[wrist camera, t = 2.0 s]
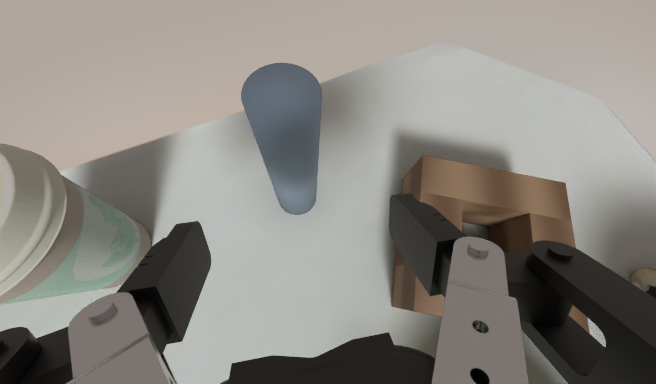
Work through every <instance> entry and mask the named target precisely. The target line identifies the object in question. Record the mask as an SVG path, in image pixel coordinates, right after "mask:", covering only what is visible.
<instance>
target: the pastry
mask: <svg viewBox="0 0 656 384" xmlns="http://www.w3.org/2000/svg"><path fill="white" fill-rule="evenodd" d="M631 281H632V282H631V283H632V284H633V285H635V286H636V287H638V288H640V289H641V290H643V291H644V292H646V293H648V294H649V295H651V296H652V297H654V298H655V299H656V270H653V269H647V268H642V269H639V270H637V271H636V272H635V274H634V275H632V276H631Z"/></svg>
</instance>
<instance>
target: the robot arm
mask: <svg viewBox="0 0 656 384" xmlns="http://www.w3.org/2000/svg"><path fill="white" fill-rule="evenodd" d="M389 230H390V235H391V237H392V240H393V241H394V243H395V244H396V246H397V247H398V249H399V250H400V252H401V253H402V255H403V256H404V258H405V259H406V261H407V262H408V264H409V265H410V267H411V268H412V270H413V272H414V273H415V275H416V276H417V278H418V279H419V281H420V282H421V284H422V285H423V287H424V288H425V290H426V291H427V293H428V294H429V296H435V295H440V294H442V295H443V296H444V298H445V301H444V307H443V313H442V319H441V326H440V332H439V338H438V344H437V350H436V356H435V358H433V357H432V356H430V355H428V354H426V353H423V352H421V351H419V350H415V349H412V348H409V347H404V346H397V345H394V344H393V342H392V339H391V337H390V334H389V333H384V334H379V335H374V336H369V337H364V338H359V339H354V340H351V341H349V342H347V343H344V344H342V345H340V346H338V347H336V348H334V349H332V350H330V351H328V352H326V353H324V354H322V355H320V356H317V357H314V358H303V357H287V356H268V357H263V358H258V359H252V360H247V361H242V362H237V363H232V366H231V371H230V377H229V379H228V380H226V381H224V382H222V383H221V384H529V382H528V374H527V367H526V360H525V353H524V346H523V339H522V331H521V329H522V330H523V331H524V333H525V334H526V335H527V336H528V337H529V338H530V339H531V341H532V342H533V343H534V344H535V345H536V346H537V348H538V349H539V350H540V351H541V352H542V353H543V355H544V356H545V357H546V358H547V359H548V360H549V361H550V363H551V364H552V365H553V366H554V367H555V368H556V370H557V371H558V372H559V373H560V374H561V375H562V377H563V378H564V379H565V380H566V381H567V382H568V384H656V299H655V298H654V297H652V296H651V295H649V294H648V293H646V292H644V291H643V290H641V289H640V288H638V287H636V286H635V285H633V284H632V283H630V282H629V281H627V280H625V279H624V278H622V277H621V276H619V275H618V274H616V273H614V272H613V271H611V270H610V269H608V268H607V267H605V266H603V265H602V264H600V263H599V262H597V261H596V260H594V259H592V258H591V257H589V256H588V255H586V254H584V253H583V252H581V251H580V250H578V249H576V248H574V247H572V246H569V245H566V244H563V243H560V242H555V241H548V240H541V241H536V242H533V243H532V244H531V246H530V249H529V252H528V254H520V253H504V252H503V251H502V249H501V248H500V247H499V246H497V245H496V244H494V243H492V242H491V241H488V240H486V239H482V238H478V237H467V236H466V235H465V234H464V233H463V232H462V231H460V230H459V229H458V228H457V227H456V226H455V225H454V224H452V223H451V222H450V221H449V220H447V218H446V217H445V216H443V215H441V213H440V212H439V211H438V210H437V209H435V208H434V207H433V206H431V205H428V204H426V203H424V202H419V201H418V200H417V199H416V198H415V197H414V196H413V195H412V194H410V193H403V194H396V195H392V196H391V198H390V217H389ZM210 266H211V255H210V251H209V248H208V245H207V242H206V239H205V236H204V233H203V230H202V227H201V224H200V223H199V222H198V221H195V222H188V223H180V224H176V225H175V227H174V228H173V229H172V231H171V232H170V234H169V235H168V236H167V238H163V239H162V240H160V241H159V242H158V243H156V244H155V245H154V246H152V247H151V248H150V250H149V251H148V252H147V254H146V255H145V256H144V258H143V259H142V260H141V261H140V263H139V264H138V267H136V268H135V269H134V271H133V272H132V273H131V274H130V276H129V277H128V278H127V280H126V281H125V282H124V284H123V285H122V286H121V287H120V289H119V290H118V291H117V293H114V294H110V295H107V296H105V297H102V298H100V299H98V300H96V301H94V302H92V303H91V304H89V305H88V306H86V307H85V308H84V309H82V310H81V311H80V312H79V313H78V314H77V315H76V316H75V317H74V318H73V319H72V321H71V322H70V324H69V327H66V328H64V329H61V330H58V331H55V332H53V333H50V334H47V335H45V336H42V337H39V338H37V339H36V338H35V337H34V336H33V334H32V333H31V332H30V331H29V330H28V329H27V328H24V327H17V328H11V329H7V330H4V331H1V332H0V384H177V381H176V379H175V377H174V375H173V373H172V371H171V369H170V366H169V364H168V362H167V360H166V358H165V356H164V354H163V351H164V349H165V347H166V344H170V343H175V342H181V341H182V340H183V337H184V335H185V332H186V330H187V327H188V324H189V322H190V319H191V317H192V314H193V311H194V309H195V306H196V304H197V301H198V298H199V296H200V293H201V290H202V288H203V285H204V283H205V280H206V277H207V275H208V272H209V270H210ZM573 305H574V306H575V307H576V308H577V309H578V310H580V311H581V312H582V313H583V314H584V315H585V316H587V317H588V318H589V319H590V320H591V321H592V322H594V323H595V324H596V325H597V326H598V327H599V328H600V330H601V331H602V333H603V334H604V336H605V339H606V347H604V346H602V345H601V344H600V343H599V342H598V341H597V340H596V339H595V338H594V337H592V336H591V335H590V334H589V333H588V332H587V331H586V330H585V329H584V328H583V327H581V326H580V325H579V324H578V323H577V322H576V321H575V320H574V319H573V318H571V317H570V316H569V313H570V311H571V309H572V307H573Z"/></svg>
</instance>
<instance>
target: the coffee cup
mask: <svg viewBox="0 0 656 384" xmlns="http://www.w3.org/2000/svg"><path fill="white" fill-rule="evenodd" d="M150 248H151V239H150V235H149V233H148V231H147V229H146V228H145V227H144V226H143V225H142V224H141V223H139V222H137V221H136V220H134V219H133V218H131V217H129V216H128V215H126V214H125V213H123V212H121V211H120V210H118V209H116V208H115V207H113V206H111V205H110V204H108V203H106V202H105V201H103V200H102V199H100V198H98V197H97V196H95V195H93V194H92V193H90V192H88V191H87V190H85V189H84V188H82V187H80V186H79V185H77V184H75V183H74V182H72V181H70V180H69V179H67V178H65V177H64V176H62V175H60V173H59V171H58V170H57V169H56V168H55V166H54V165H53V164H52V163H50V162H49V161H48V160H47V159H45V158H44V157H42V156H40V155H38V154H36V153H34V152H31V151H27V150H24V149H20V148H18V147H15V146H11V145H6V144H0V305H1V304H8V303H14V302H21V301H27V300H34V299H40V298H47V297H53V296H60V295H66V294H73V293H79V292H86V291H92V290H98V289H104V288H111V287H115V286H118V285H121V284H123V283H124V282H125V281H126V280H127V278H128V277H129V276H130V274H131V273H132V272H133V271H134V269H135V268H136V267H138V264H139V263H140V261H141V260H142V259H143V258H144V256H145V255H146V254H147V252H148V251H149V250H150Z"/></svg>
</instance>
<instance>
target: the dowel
mask: <svg viewBox="0 0 656 384" xmlns="http://www.w3.org/2000/svg"><path fill="white" fill-rule="evenodd" d="M241 98H242V103H243V106H244V108H245V111H246V114H247V117H248V119H249V122H250V125H251V128H252V130H253V133H254V136H255V138H256V141H257V144H258V147H259V149H260V152H261V155H262V157H263V160H264V163H265V166H266V168H267V171H268V174H269V176H270V179H271V182H272V185H273V187H274V190H275V193H276V195H277V198H278V201H279V203H280V206H281V207H282V208H283V209H284V210H285V211H286V212H288V213H290V214H294V215H299V214H304V213H306V212H308V211H309V210H310V209H311V208H312V207H313V205H314V204H315V201H316V188H317V171H318V153H319V136H320V119H321V101H322V91H321V87H320V84H319V82H318V81H317V79H316V78H315V77H314V76H313V74H311V73H310V72H309V71H307V70H306V69H304V68H302V67H300V66H297V65H293V64H287V63H275V64H270V65H266V66H264V67H261V68H259V69H258V70H256V71H255V72H254V73H252V74H251V75H250V76H249V77H248V78H247V80H246V81H245V83H244V85H243V88H242V93H241Z"/></svg>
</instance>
